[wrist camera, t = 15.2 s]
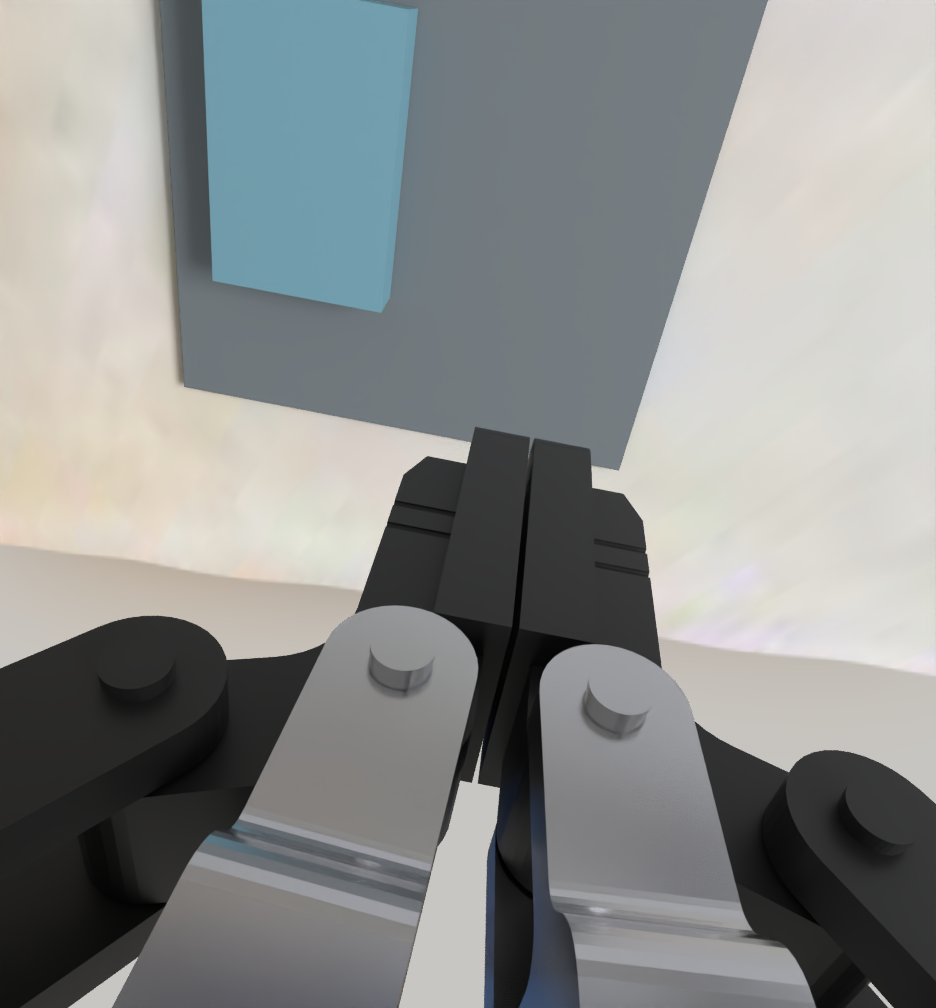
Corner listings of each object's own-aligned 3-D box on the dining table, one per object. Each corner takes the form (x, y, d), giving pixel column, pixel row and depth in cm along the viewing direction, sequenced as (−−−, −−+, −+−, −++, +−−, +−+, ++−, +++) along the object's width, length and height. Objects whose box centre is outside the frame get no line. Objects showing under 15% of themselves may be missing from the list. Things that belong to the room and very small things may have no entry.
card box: (418, 8, 23) (222, -29, 23) (408, 9, 22) (200, -30, 22) (390, 296, 28) (230, 266, 28) (381, 312, 27) (212, 280, 27)
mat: (146, -301, 20) (139, -305, 20) (819, -175, 20) (824, -178, 20) (188, 382, 32) (184, 386, 31) (618, 465, 31) (618, 470, 31)
